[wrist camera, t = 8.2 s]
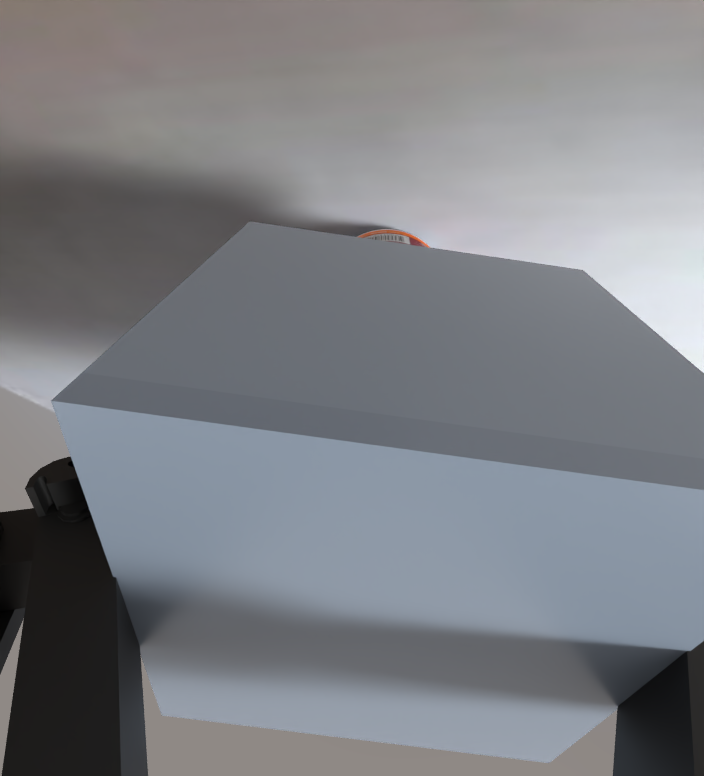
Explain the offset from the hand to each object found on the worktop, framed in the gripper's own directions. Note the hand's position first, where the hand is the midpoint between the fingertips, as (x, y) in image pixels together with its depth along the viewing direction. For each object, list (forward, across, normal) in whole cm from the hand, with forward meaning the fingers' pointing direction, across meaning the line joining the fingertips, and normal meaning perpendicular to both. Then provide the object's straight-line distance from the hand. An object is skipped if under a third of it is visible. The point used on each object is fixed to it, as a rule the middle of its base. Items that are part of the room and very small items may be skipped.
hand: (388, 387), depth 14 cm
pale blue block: (0, 0, 0) cm, 0 cm away
